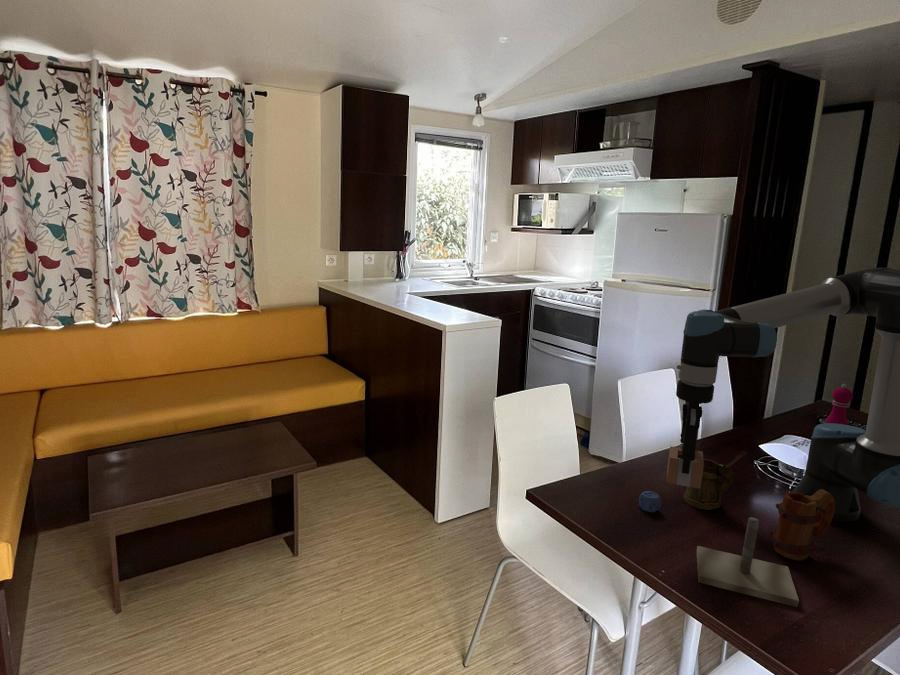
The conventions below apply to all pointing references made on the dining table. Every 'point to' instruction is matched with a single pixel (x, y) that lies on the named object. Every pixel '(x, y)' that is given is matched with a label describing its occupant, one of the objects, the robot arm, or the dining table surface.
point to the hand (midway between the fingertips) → (682, 477)
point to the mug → (802, 523)
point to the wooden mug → (711, 485)
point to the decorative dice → (649, 501)
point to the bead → (674, 466)
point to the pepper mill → (840, 405)
